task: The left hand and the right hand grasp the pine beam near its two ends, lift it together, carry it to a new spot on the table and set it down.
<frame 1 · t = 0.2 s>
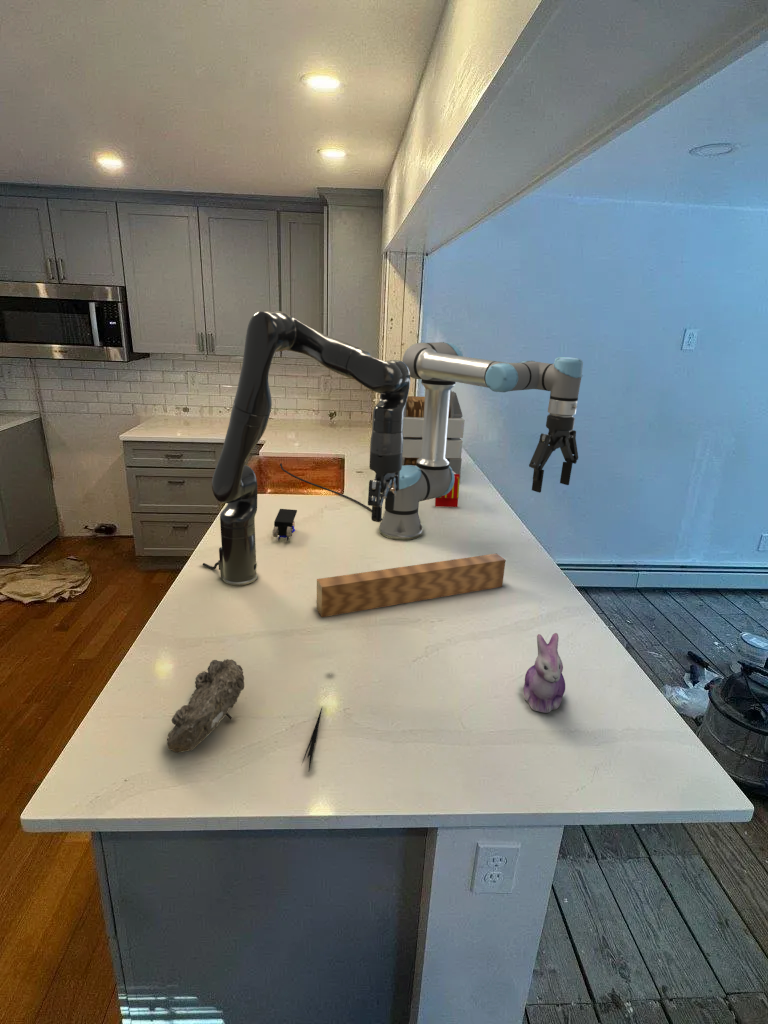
left hand: (383, 515, 136), 28 cm above the counter, tool pointing down, fingers open, 8 cm apart
right hand: (550, 487, 165), 28 cm above the counter, tool pointing down, fingers open, 13 cm apart
feather: (319, 719, 109), on the counter
toy: (441, 496, 242), on the counter
beam: (414, 597, 157), on the counter
fossil: (212, 717, 108), on the counter
figurine character: (285, 536, 194), on the counter
grey and brown box: (419, 473, 275), on the counter
figurine: (543, 700, 117), on the counter
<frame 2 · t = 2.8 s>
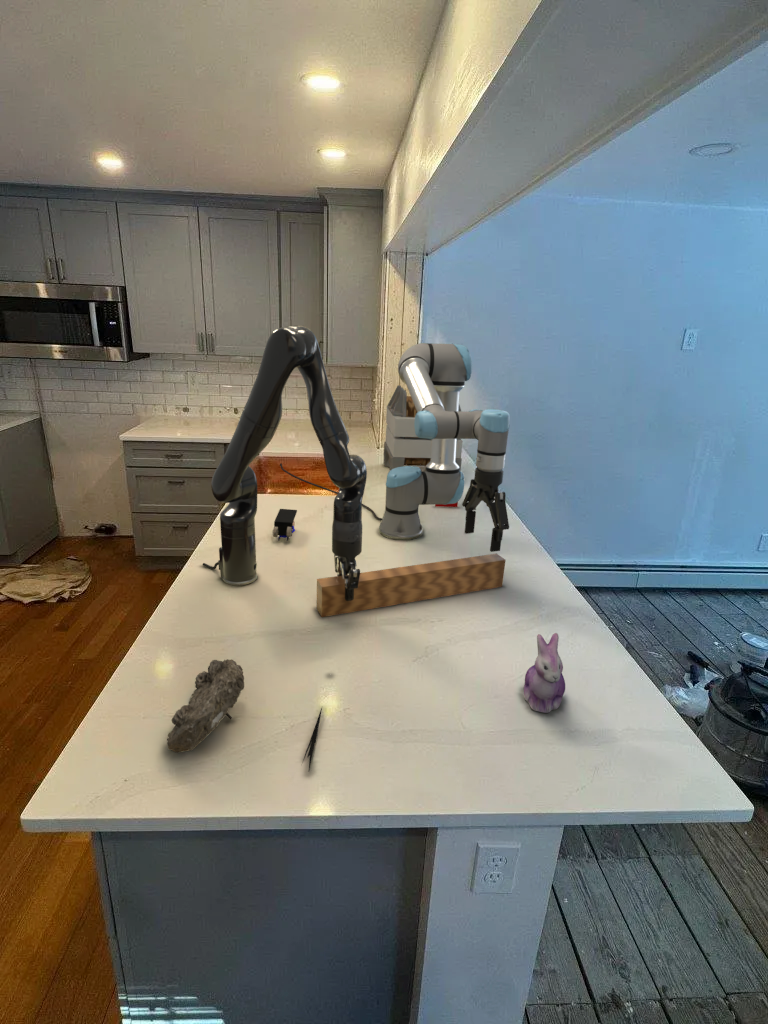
left hand: (345, 595, 148), 4 cm above the counter, tool pointing down, fingers closed on beam, 4 cm apart
right hand: (481, 541, 159), 14 cm above the counter, tool pointing down, fingers open, 13 cm apart
beam: (414, 597, 157), on the counter, touching left hand
everything else where it was.
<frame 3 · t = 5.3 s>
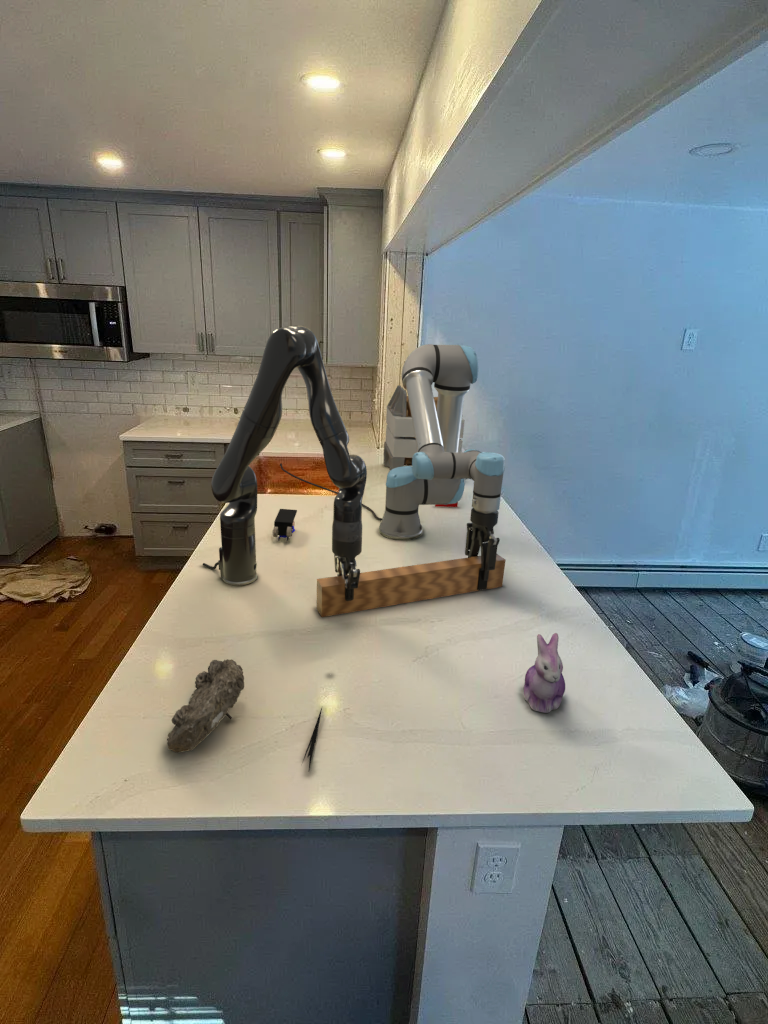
left hand: (345, 595, 148), 4 cm above the counter, tool pointing down, fingers closed on beam, 4 cm apart
right hand: (476, 584, 164), 1 cm above the counter, tool pointing down, fingers closed on beam, 5 cm apart
beam: (414, 597, 157), on the counter, touching right hand, left hand
everything else where it was.
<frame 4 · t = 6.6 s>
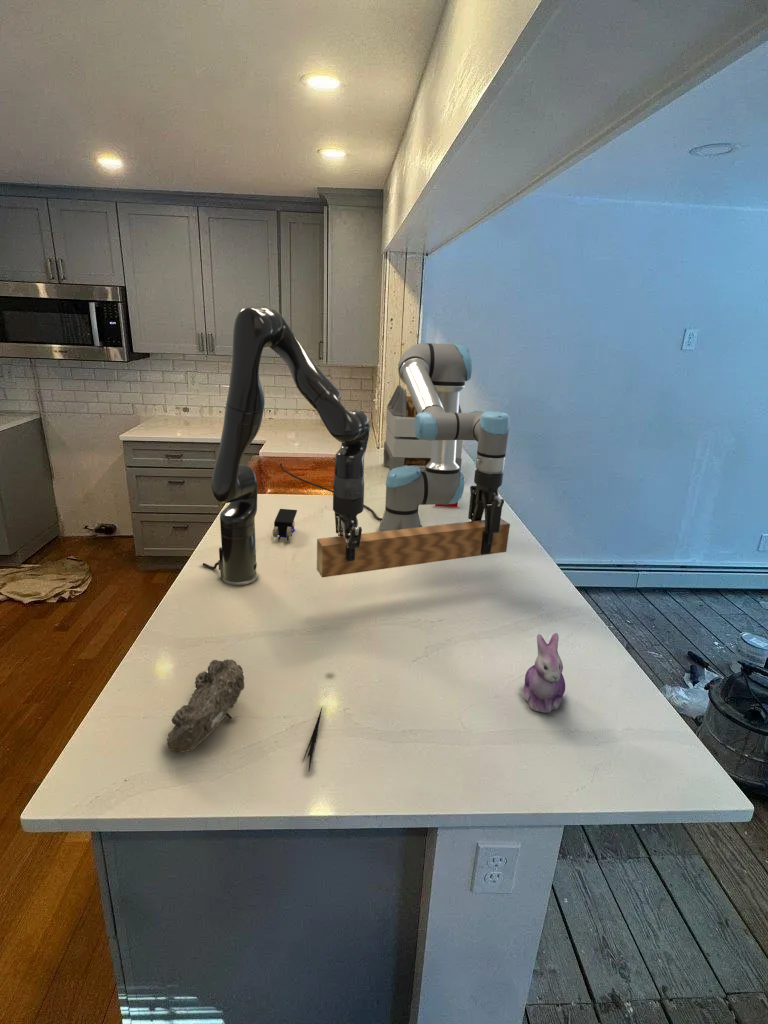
left hand: (346, 555, 144), 15 cm above the counter, tool pointing down, fingers closed on beam, 4 cm apart
right hand: (480, 549, 160), 12 cm above the counter, tool pointing down, fingers closed on beam, 5 cm apart
beam: (416, 560, 153), point 11 cm above the counter, touching right hand, left hand
everything else where it was.
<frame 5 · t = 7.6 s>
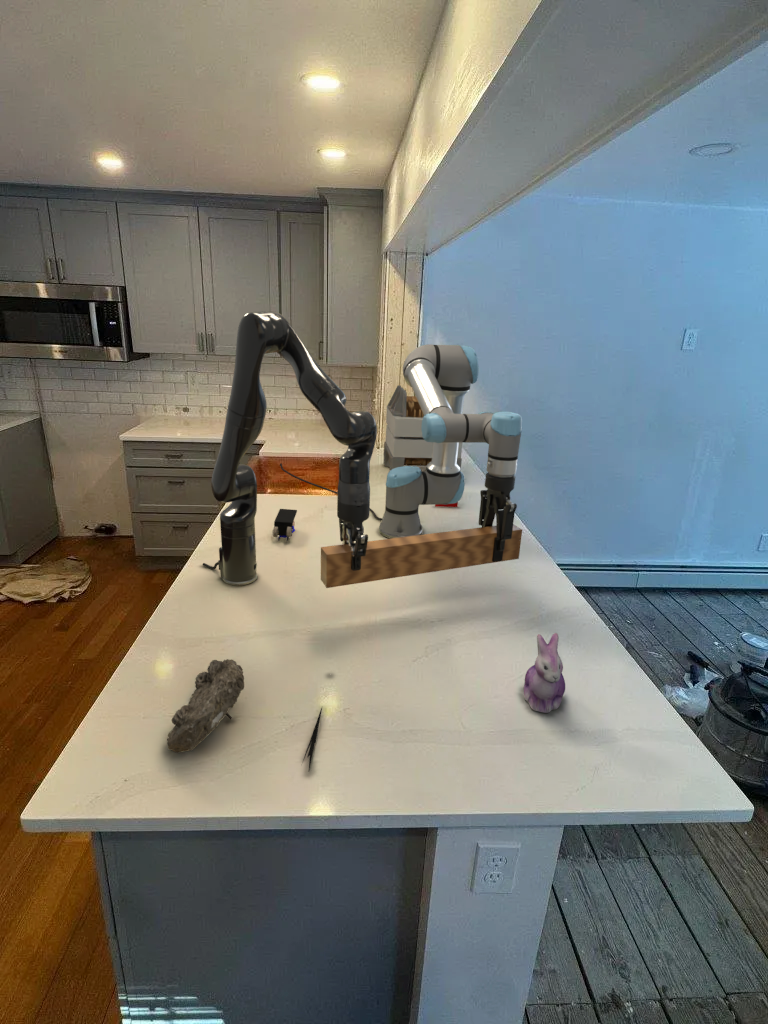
left hand: (352, 564, 137), 16 cm above the counter, tool pointing down, fingers closed on beam, 4 cm apart
right hand: (491, 556, 153), 13 cm above the counter, tool pointing down, fingers closed on beam, 5 cm apart
beam: (425, 568, 146), point 12 cm above the counter, touching right hand, left hand
everything else where it was.
when the right hand's fingers open (2 cm above the counter, at t = 10.3 s): beam stays where it is, on the counter.
when the left hand's fingers open (5 cm above the counter, at t = 10.4 s): beam stays where it is, on the counter.
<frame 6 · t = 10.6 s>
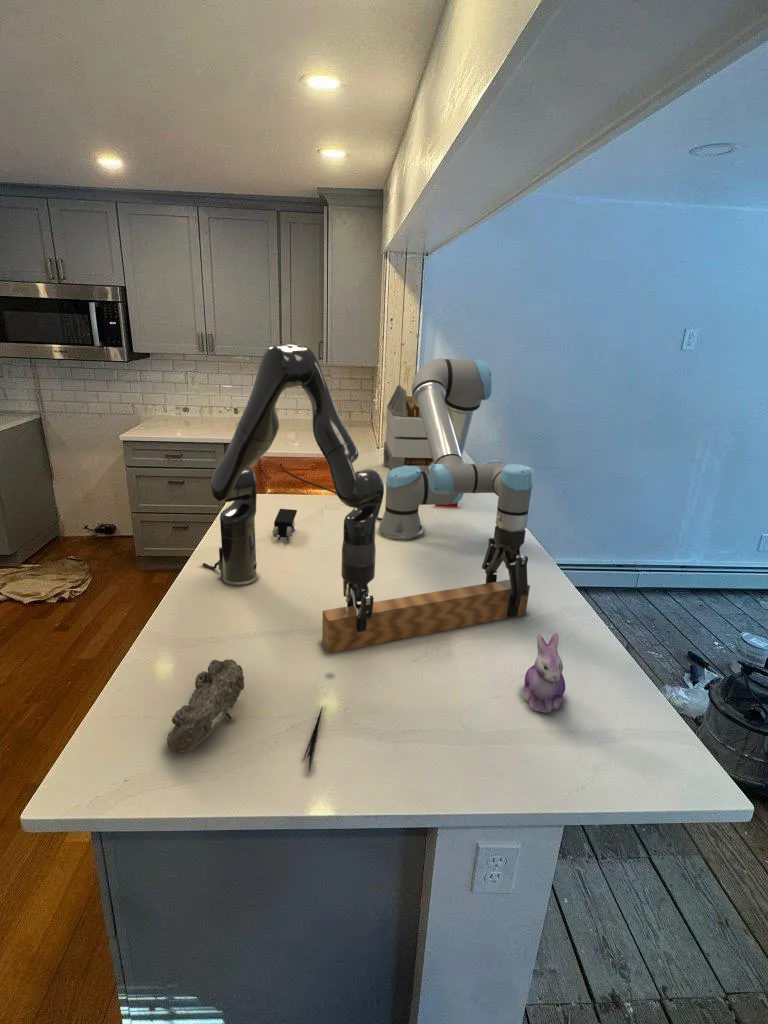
left hand: (356, 623, 132), 5 cm above the counter, tool pointing down, fingers open, 6 cm apart
right hand: (500, 606, 148), 3 cm above the counter, tool pointing down, fingers open, 10 cm apart
beam: (429, 627, 142), on the counter
everything else where it was.
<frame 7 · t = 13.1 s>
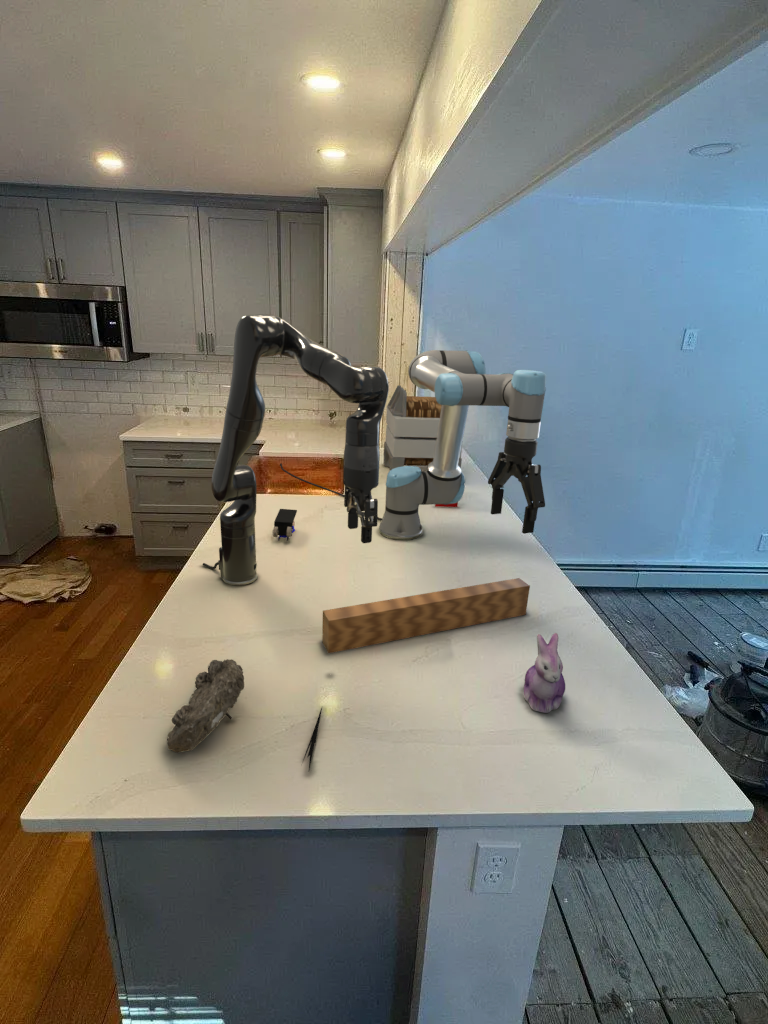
left hand: (359, 535, 125), 27 cm above the counter, tool pointing down, fingers open, 8 cm apart
right hand: (511, 522, 140), 26 cm above the counter, tool pointing down, fingers open, 13 cm apart
nothing on the counter moved.
at the end: beam inside the target area (0.4 cm from its centre), on the counter; beam tilted 0°; beam never tilted more than 2° during the clip; both hands held the beam at the same time; the left hand is holding nothing; the right hand is holding nothing; beam at rest at the end (0.0 cm/s) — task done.
